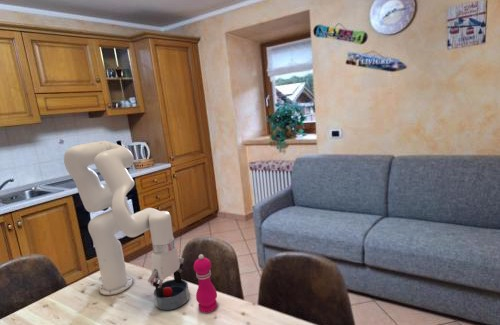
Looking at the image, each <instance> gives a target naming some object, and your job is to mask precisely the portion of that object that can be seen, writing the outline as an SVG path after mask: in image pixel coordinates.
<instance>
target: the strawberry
mask: <svg viewBox="0 0 500 325" xmlns="http://www.w3.org/2000/svg"><path fill="white" fill-rule="evenodd" d="M163 291H164V297H162V298H168V297H172V295H173V290H172V289H171V288H170V287H165V288H163Z"/></svg>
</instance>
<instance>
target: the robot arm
mask: <svg viewBox="0 0 500 325" xmlns="http://www.w3.org/2000/svg"><path fill="white" fill-rule="evenodd" d="M134 161H135V158H134V155H133V153H132V151H131V150H130V149H128V148H127V147H125V146H124V145H120V144H117V143H115V142H112V141H108V140H98V141H93V142H87V143H81V144H77V145H73V146H70V147H69V148H67V150H66V151H65V152H64V154H63V162H64V163H63V164H64V168H65V169H66V170H67V173H68V174H69V176H70V177H71V179H72V180H73V182H74V184H75V186H76V190H77V192H78V194H79V197H80V200H81V202H82V204H83V207H84V209H85V210H86V212H88V213H91V214H93V213H98V212H101V211H103V210H105V209H108V208H110V210H107V211H105V212H103V213H102V212H101V213H100V214H98V215H96V216H93V217H92V218H91V219H90V220H89V222H88V223H87V230H88V233H89V235H90V237H91V240H92V243H93V245H94V250H95V254H96V259H97V263H98V267H99V272H100V276H99V277H98V280H99V281H101V285H100V286H99V290H98V291H99V293H100V294H101V295H103V296H114V295H116V294H120V293H123V292H124V291H126V290H128V289H129V288H130V287H131V286H132V284H133V278H132V277H131V276H129V275H128V273H127V267H126V262H125V257H124V256H125V255H124V252H123V247H122V243H121V241H120V240H119V239H118V238H117V237H116V236H115V234H117V233H119V232H122V233H123V234H124V235H125V236H127V237H128V238H136V237H138V236H140V235H142V234H143V233H145V232H147V231H149V232H150V238H151V245H152V252H151V256H150V267H151V270H150V271H151V275H150V276H149V278H148V279H147V282H148V283H149V285H150V286H152V287H154V290H155V289H156V294H157V296H160V297H164V291H163V287H162V283H163V282H164V280H166V279H167V278H168V277H170V276H171V275H173V279H174V281H175V282H177V283H182V280H183V279H182V274H181V273H182V271H183V270H182V269H183V267H184V261H185V258H184V257H179V253H178V248H177V246H176V245H175V240H176V237H175V236H174V232H173V224H172V216H171V214H170V212H169V211H166V210H159V209H156V208H153V207H146V208H144V209H142V210H140V211H136V212H135V213H133V214H132V211H131V208H130V206H129V203H128V200H127V198H126V197H127V195H128V193H129V192H130V191H131V190H132V189H133V188H134V187H135V185H136V184H135V180H134V179H133V177H132V175H131V174H130V172H129V171H128V169H129V168H131V167H132V166H133V164H134ZM92 165H95V168H96V169H97V171H98V173H99V174H100V176H101V177H102V179H103V181H104V182H105V183H104V184H102V183H101V180H100V177H99V175H98V174H97V173H96V172H95V171H94V170H93V169H92V168H90V167H88V166H92Z"/></svg>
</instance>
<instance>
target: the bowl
mask: <svg viewBox="0 0 500 325" xmlns="http://www.w3.org/2000/svg"><path fill="white" fill-rule="evenodd" d="M181 280H182V283H177V282H175V281H174V278H173V279H169V280H166V281H163V282H162V287H163V288H165V287H170V288H171V289H172V290H173V295H172V297H168V298H162V297H160V296H157V294H156V289H155V288H154V290H153V297H154V303H155V304H154V305H155V306H156V307H157V308H158V309H160V310H163V311H167V310H168V311H170V310H175V309H177V308H179V307H181V306H183V305H184V304H186V303H187V302H188V301H189V298H190V290H189V283H188V282H187V281H186V280H185V279H181Z"/></svg>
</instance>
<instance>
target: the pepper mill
mask: <svg viewBox="0 0 500 325" xmlns="http://www.w3.org/2000/svg"><path fill="white" fill-rule="evenodd" d="M211 268H212V262H211V260H210V259H209V258H208V257H205V256H204V254H202V253H200V254H199V255H198V258H197V259H195V261H194V263H193V271H194V272H195V275H196V278H197V281H198V286H197V290H196V293H195V299H196V302H197V303H198V309H199V311H200V312H202V313H205V314H206V313H212V312H213V311H215V310H216V309H217V308H218V303H217V298H218V293H217V290H216V287H215V286H214V284H213V282H212V281H211V280H212V279H211V276H212V271H211Z"/></svg>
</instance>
